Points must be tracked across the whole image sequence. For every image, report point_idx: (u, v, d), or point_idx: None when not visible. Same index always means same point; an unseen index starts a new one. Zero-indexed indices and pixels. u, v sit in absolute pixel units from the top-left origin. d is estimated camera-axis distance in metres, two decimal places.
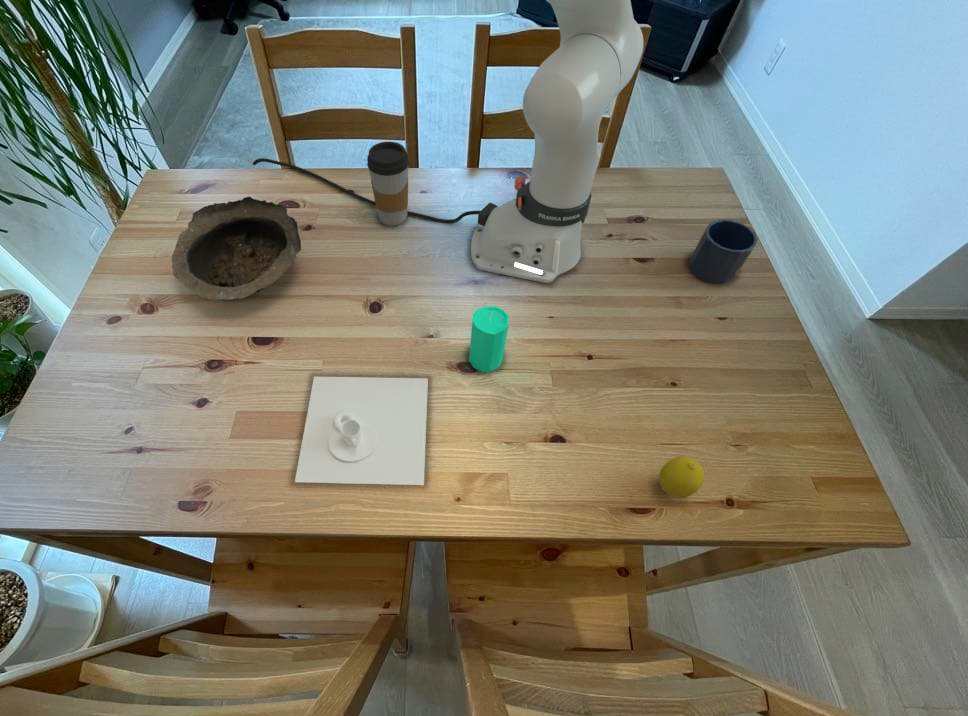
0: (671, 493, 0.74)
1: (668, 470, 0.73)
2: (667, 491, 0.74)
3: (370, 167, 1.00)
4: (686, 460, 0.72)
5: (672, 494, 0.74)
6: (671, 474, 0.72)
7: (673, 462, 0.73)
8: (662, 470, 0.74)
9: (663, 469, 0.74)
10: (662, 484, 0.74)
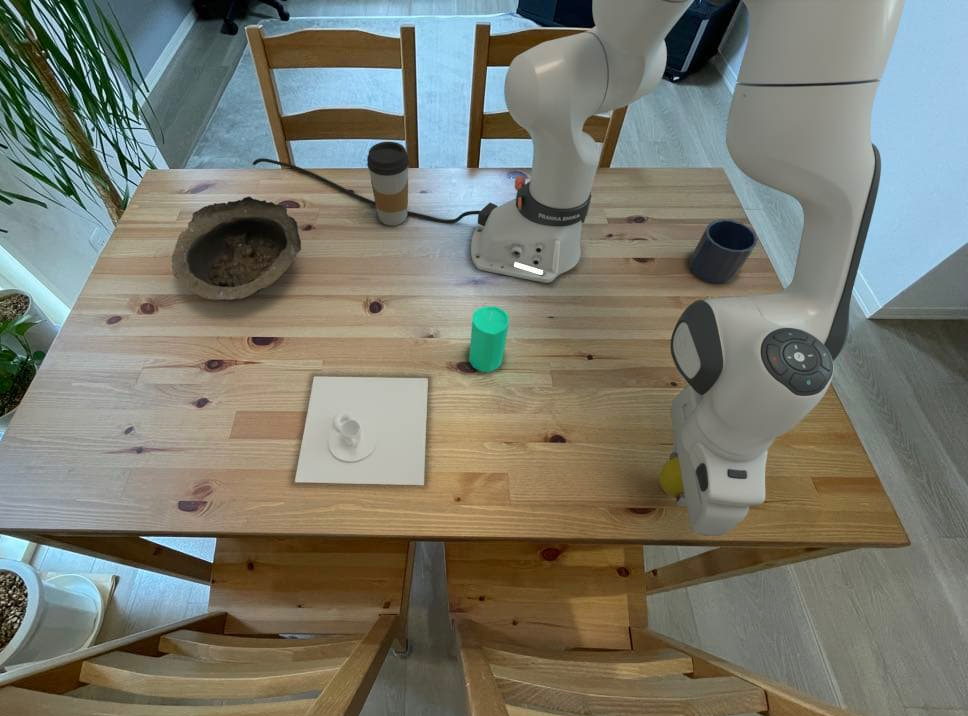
0: (671, 493, 0.74)
1: (668, 470, 0.73)
2: (667, 491, 0.74)
3: (370, 167, 1.00)
4: None
5: (672, 494, 0.74)
6: (671, 473, 0.72)
7: (673, 461, 0.73)
8: (662, 470, 0.74)
9: (663, 469, 0.74)
10: (662, 484, 0.74)
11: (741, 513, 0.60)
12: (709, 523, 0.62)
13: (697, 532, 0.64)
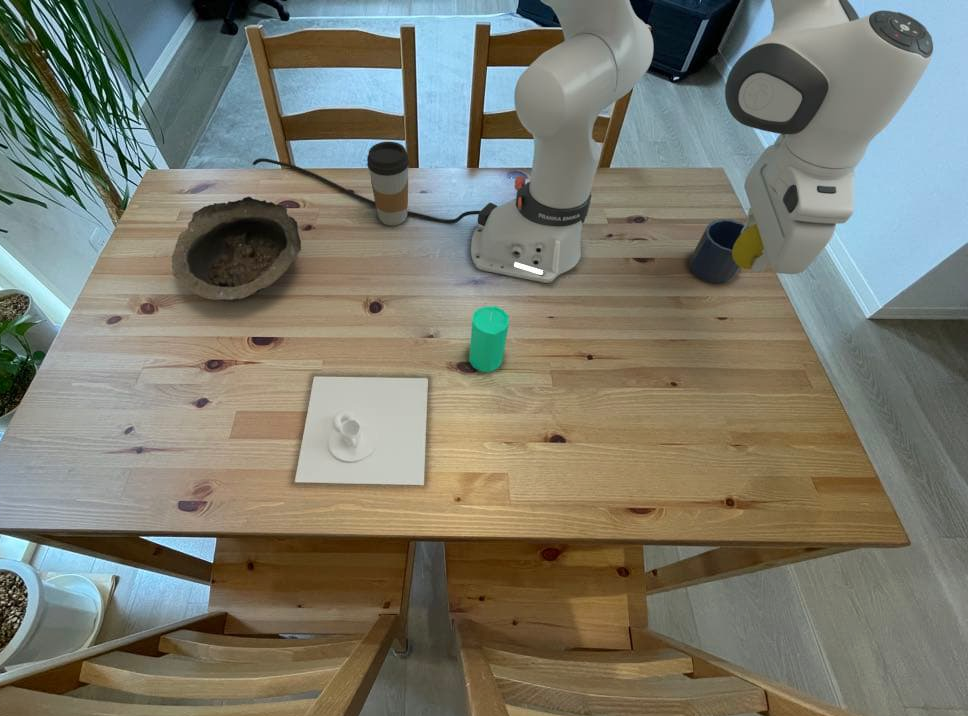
0: (746, 261, 0.76)
1: (744, 236, 0.75)
2: (741, 260, 0.77)
3: (370, 167, 1.00)
4: None
5: (746, 262, 0.76)
6: (747, 237, 0.75)
7: (749, 227, 0.75)
8: (737, 241, 0.77)
9: (738, 239, 0.77)
10: (736, 254, 0.77)
11: (827, 233, 0.63)
12: (794, 250, 0.65)
13: (779, 268, 0.67)
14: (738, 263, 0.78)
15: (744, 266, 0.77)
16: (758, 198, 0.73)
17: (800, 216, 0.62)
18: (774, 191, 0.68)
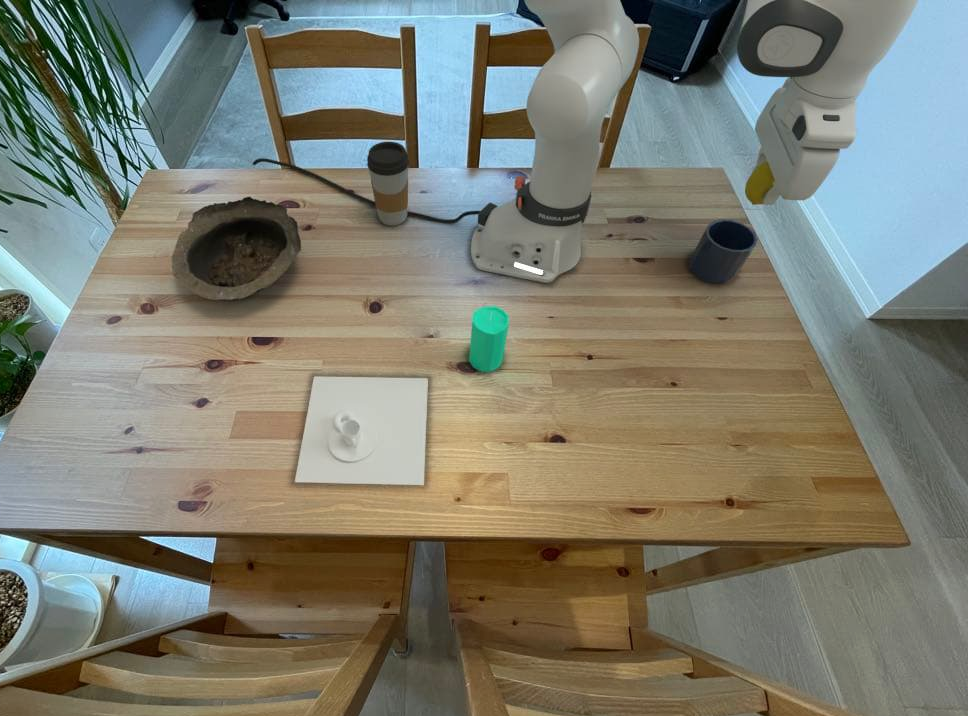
0: (758, 196, 0.84)
1: (756, 172, 0.83)
2: (754, 195, 0.84)
3: (370, 167, 1.00)
4: None
5: (758, 197, 0.84)
6: (759, 173, 0.82)
7: (761, 164, 0.83)
8: (749, 178, 0.85)
9: (750, 176, 0.84)
10: (749, 190, 0.84)
11: (833, 158, 0.71)
12: (802, 175, 0.72)
13: (789, 193, 0.75)
14: (751, 199, 0.85)
15: (756, 201, 0.85)
16: (768, 137, 0.81)
17: (808, 142, 0.70)
18: (783, 125, 0.75)
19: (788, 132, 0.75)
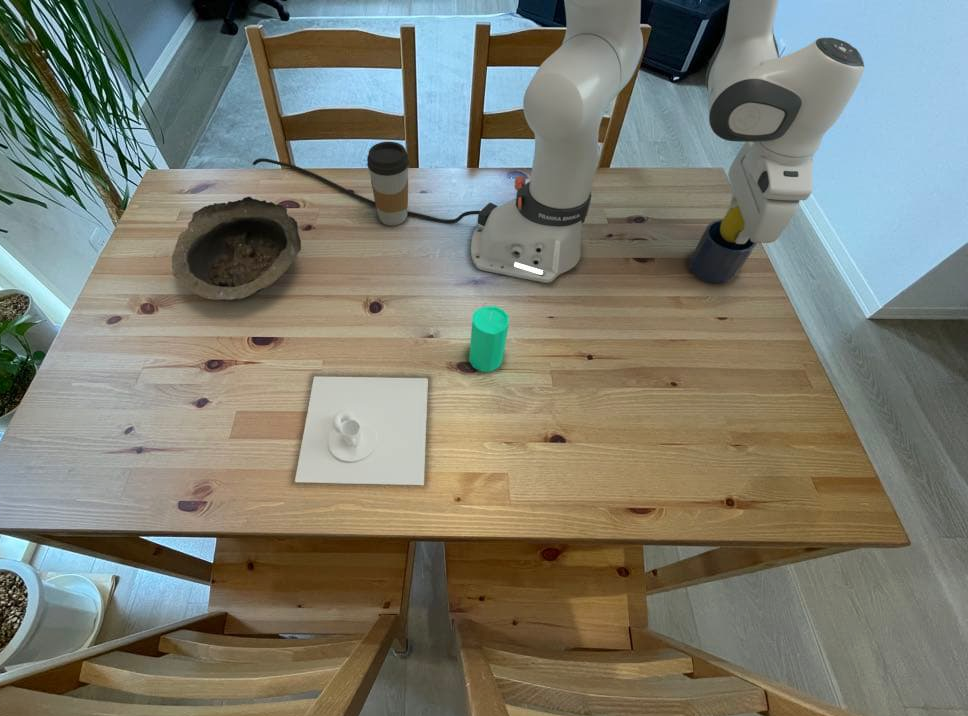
0: (731, 235, 0.93)
1: (729, 215, 0.92)
2: (727, 235, 0.93)
3: (370, 167, 1.00)
4: None
5: (732, 236, 0.93)
6: (732, 216, 0.91)
7: (733, 208, 0.92)
8: (723, 219, 0.94)
9: (724, 218, 0.93)
10: (723, 230, 0.94)
11: (793, 208, 0.80)
12: (767, 223, 0.82)
13: (757, 237, 0.84)
14: (725, 238, 0.94)
15: (730, 240, 0.94)
16: (739, 184, 0.90)
17: (771, 195, 0.79)
18: (751, 177, 0.84)
19: (755, 183, 0.84)
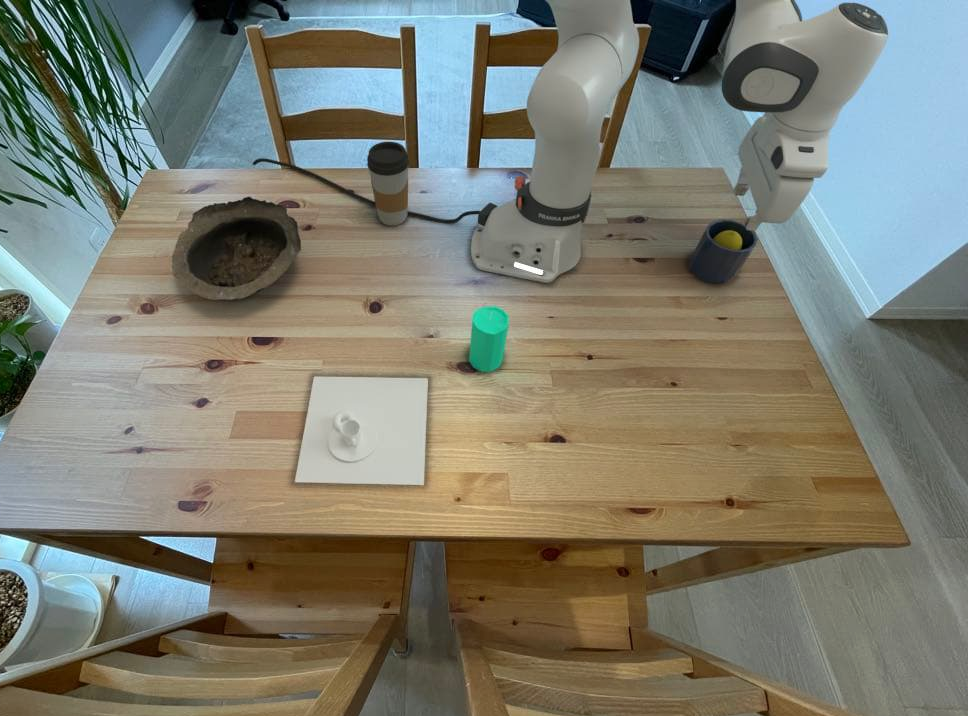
0: None
1: (715, 240, 0.97)
2: None
3: (370, 167, 1.00)
4: (729, 230, 0.96)
5: None
6: (717, 241, 0.96)
7: (718, 234, 0.97)
8: None
9: None
10: None
11: (807, 186, 0.76)
12: (779, 201, 0.78)
13: (768, 217, 0.80)
14: None
15: None
16: (750, 162, 0.87)
17: (785, 171, 0.75)
18: (763, 153, 0.81)
19: (767, 160, 0.81)
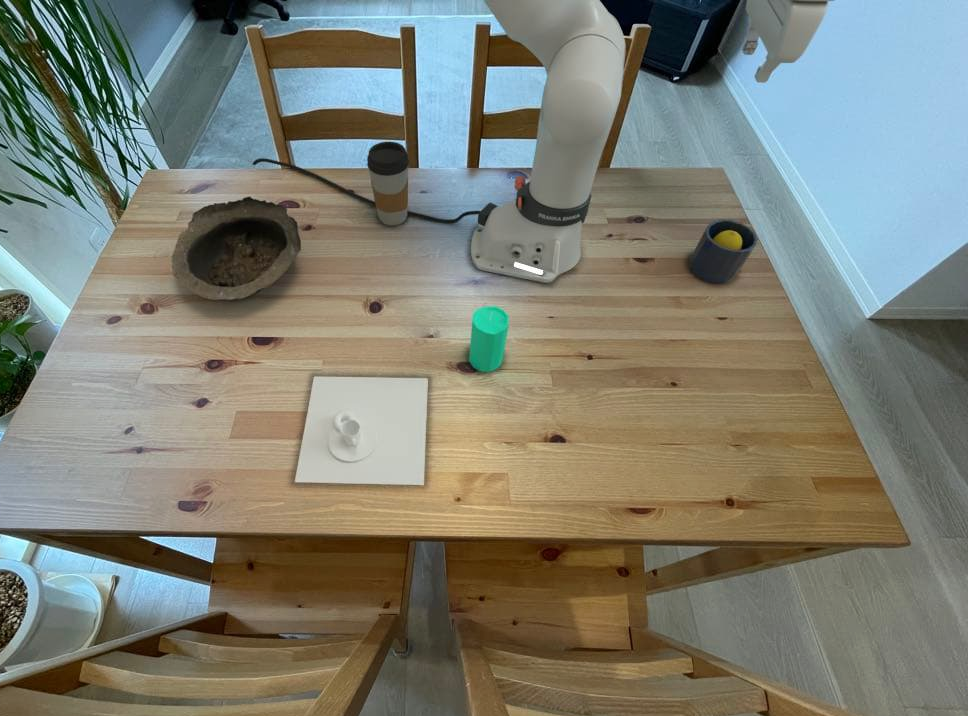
0: None
1: (715, 240, 0.97)
2: None
3: (370, 167, 1.00)
4: (729, 230, 0.96)
5: None
6: (717, 241, 0.96)
7: (718, 234, 0.97)
8: None
9: None
10: None
11: (821, 11, 0.72)
12: (791, 32, 0.74)
13: (779, 54, 0.76)
14: None
15: None
16: (758, 9, 0.83)
17: None
18: None
19: None
